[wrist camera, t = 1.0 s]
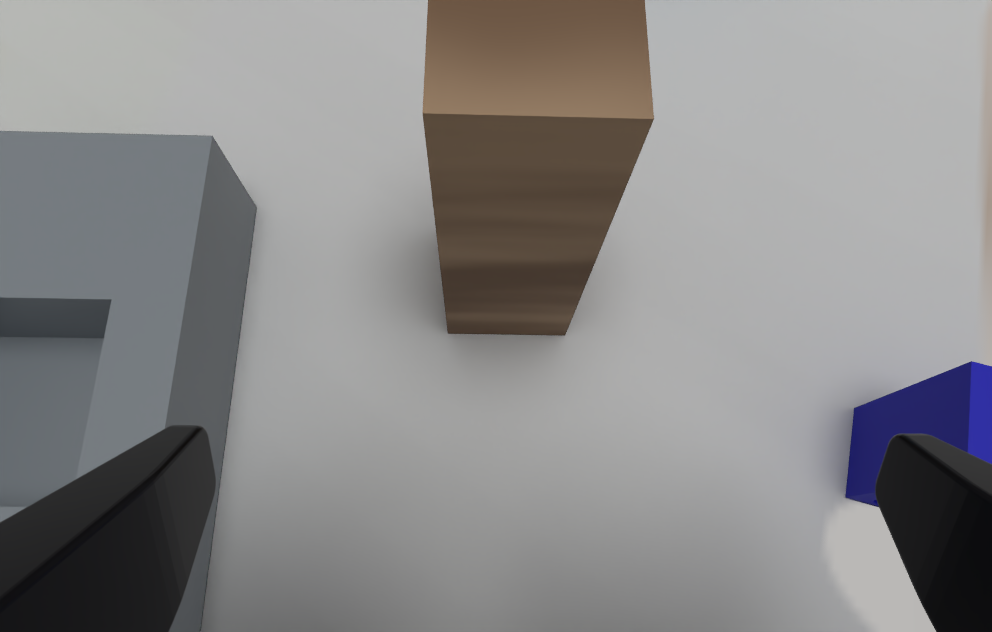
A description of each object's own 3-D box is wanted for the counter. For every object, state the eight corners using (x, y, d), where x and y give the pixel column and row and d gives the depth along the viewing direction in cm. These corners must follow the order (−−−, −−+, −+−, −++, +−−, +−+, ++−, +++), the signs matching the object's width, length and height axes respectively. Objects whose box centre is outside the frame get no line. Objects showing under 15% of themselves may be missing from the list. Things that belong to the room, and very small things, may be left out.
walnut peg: (564, 335, 24) (653, 118, 12) (447, 333, 24) (422, 113, 12) (562, 229, 25) (640, -59, 13) (451, 227, 25) (431, -66, 13)
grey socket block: (189, 709, 20) (112, 750, 16) (-152, 708, 20) (-325, 749, 15) (256, 207, 25) (212, 135, 21) (-13, 201, 25) (-113, 128, 21)
